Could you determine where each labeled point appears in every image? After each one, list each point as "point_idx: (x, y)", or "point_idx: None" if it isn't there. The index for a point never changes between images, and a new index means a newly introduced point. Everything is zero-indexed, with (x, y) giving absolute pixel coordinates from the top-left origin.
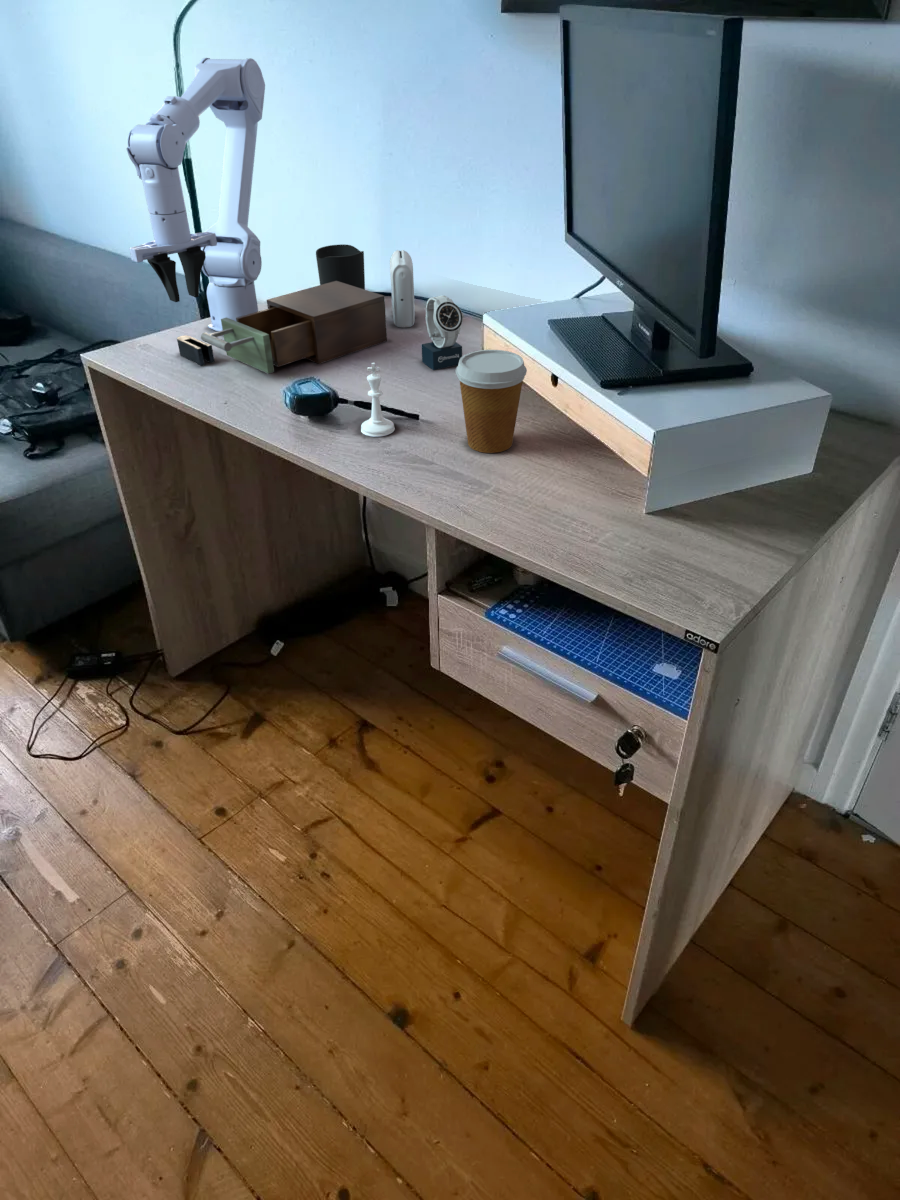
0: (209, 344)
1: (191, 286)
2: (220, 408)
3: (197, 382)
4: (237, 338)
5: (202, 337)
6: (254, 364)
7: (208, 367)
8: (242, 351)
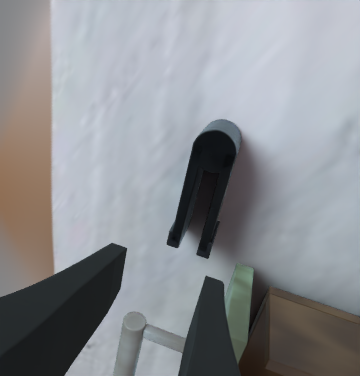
0: (207, 252)
1: (188, 337)
2: None
3: None
4: None
5: (122, 325)
6: None
7: (183, 240)
8: None
